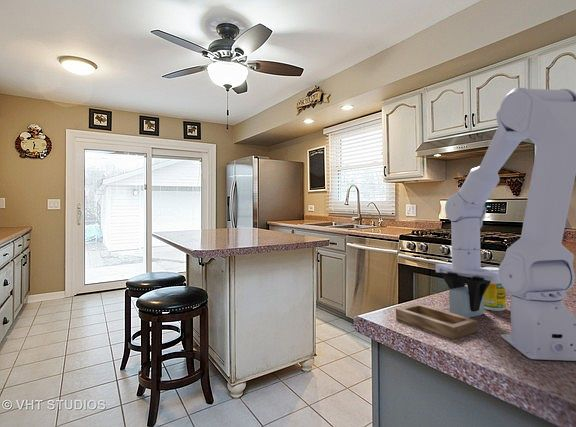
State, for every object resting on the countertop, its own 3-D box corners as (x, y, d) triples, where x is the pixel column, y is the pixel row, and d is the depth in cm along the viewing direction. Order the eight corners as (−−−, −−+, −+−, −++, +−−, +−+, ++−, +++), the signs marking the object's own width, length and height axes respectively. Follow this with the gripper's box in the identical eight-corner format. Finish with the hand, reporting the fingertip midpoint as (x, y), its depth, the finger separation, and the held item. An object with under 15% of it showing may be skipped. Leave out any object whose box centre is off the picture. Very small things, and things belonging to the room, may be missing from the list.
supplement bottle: (486, 303, 83) (485, 265, 83) (510, 308, 78) (509, 268, 78) (475, 307, 80) (474, 268, 80) (499, 312, 75) (498, 271, 75)
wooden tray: (477, 331, 64) (477, 320, 64) (453, 339, 61) (453, 327, 61) (418, 312, 77) (418, 303, 77) (396, 318, 73) (395, 308, 73)
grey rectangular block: (471, 310, 77) (470, 284, 77) (484, 313, 75) (483, 287, 75) (449, 316, 74) (449, 289, 74) (462, 319, 71) (461, 292, 71)
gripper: (509, 250, 70) (511, 313, 70) (448, 244, 82) (449, 298, 82) (490, 253, 66) (491, 319, 66) (429, 246, 79) (430, 303, 79)
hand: (467, 308), depth 74 cm, fingers closed on grey rectangular block, 3 cm apart
